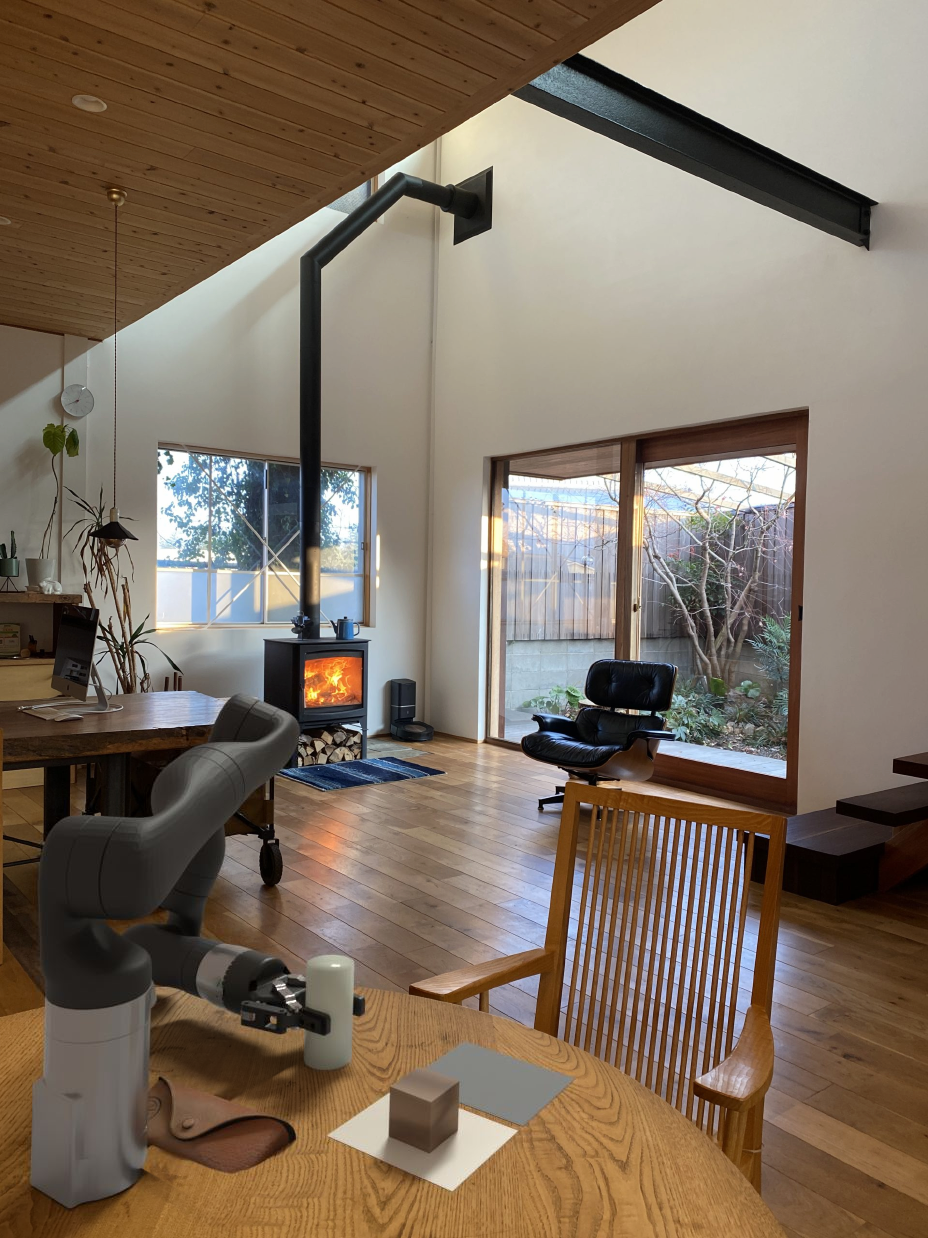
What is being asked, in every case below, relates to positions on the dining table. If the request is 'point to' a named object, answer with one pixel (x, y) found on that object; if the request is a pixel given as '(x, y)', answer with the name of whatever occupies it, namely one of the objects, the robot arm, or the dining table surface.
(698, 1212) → the dining table surface
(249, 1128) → the sunglasses case
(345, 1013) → the pale green pillar candle
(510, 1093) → the slate mat
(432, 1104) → the walnut block
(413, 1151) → the cream mat
